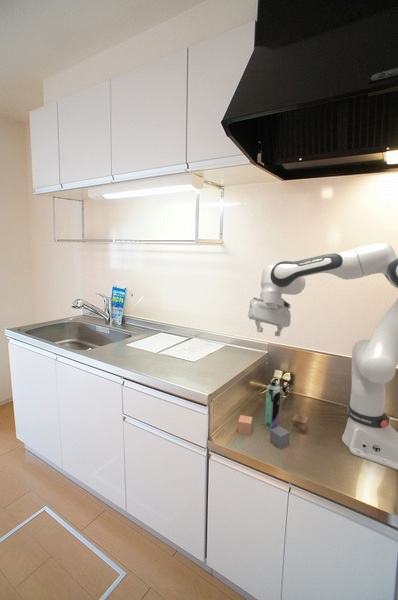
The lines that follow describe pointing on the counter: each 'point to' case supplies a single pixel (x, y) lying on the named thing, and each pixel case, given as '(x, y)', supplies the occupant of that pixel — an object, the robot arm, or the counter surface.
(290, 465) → the counter surface
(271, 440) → the charcoal block
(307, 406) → the counter surface
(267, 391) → the spray can
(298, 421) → the walnut block
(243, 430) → the terracotta block
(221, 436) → the counter surface
